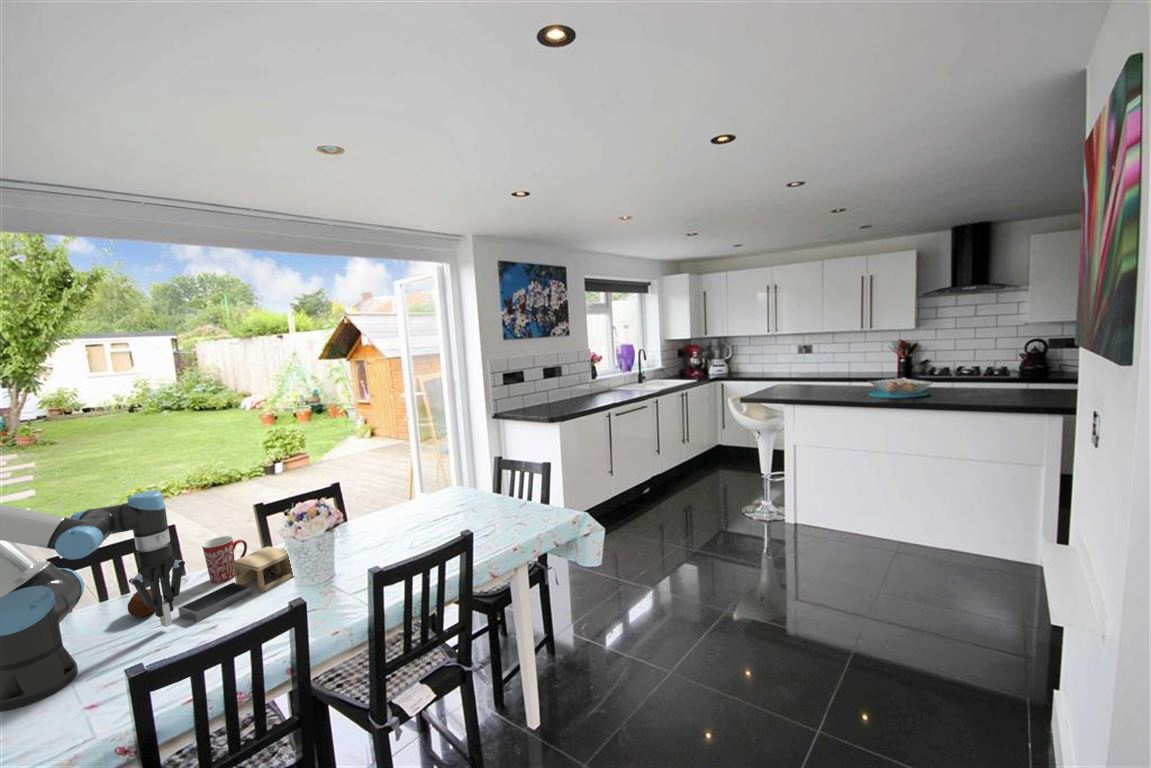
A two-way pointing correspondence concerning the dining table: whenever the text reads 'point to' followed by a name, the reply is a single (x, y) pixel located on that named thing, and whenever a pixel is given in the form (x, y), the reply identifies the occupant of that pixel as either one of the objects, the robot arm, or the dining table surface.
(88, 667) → the dining table surface
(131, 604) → the potato
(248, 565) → the shelf
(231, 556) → the mug
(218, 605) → the tray
